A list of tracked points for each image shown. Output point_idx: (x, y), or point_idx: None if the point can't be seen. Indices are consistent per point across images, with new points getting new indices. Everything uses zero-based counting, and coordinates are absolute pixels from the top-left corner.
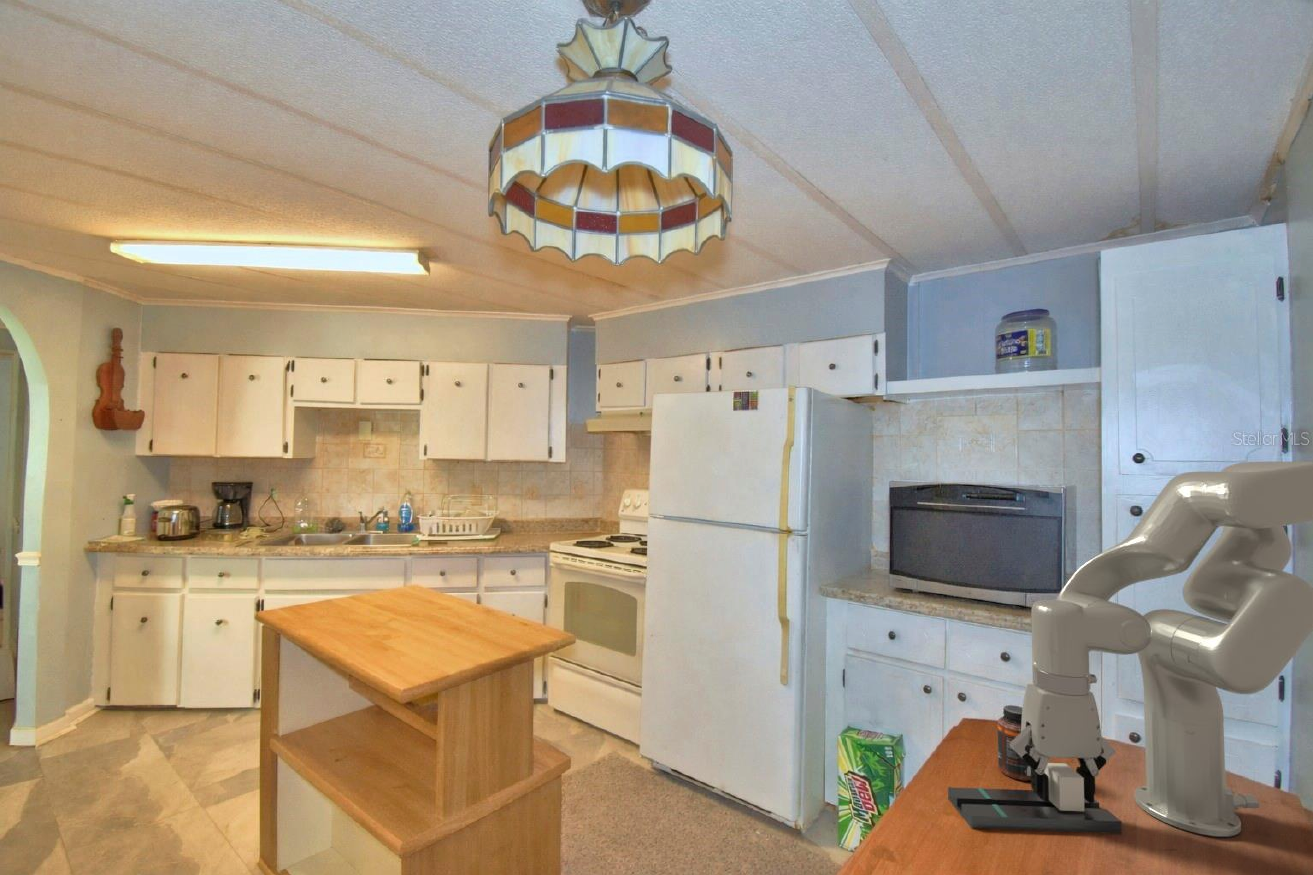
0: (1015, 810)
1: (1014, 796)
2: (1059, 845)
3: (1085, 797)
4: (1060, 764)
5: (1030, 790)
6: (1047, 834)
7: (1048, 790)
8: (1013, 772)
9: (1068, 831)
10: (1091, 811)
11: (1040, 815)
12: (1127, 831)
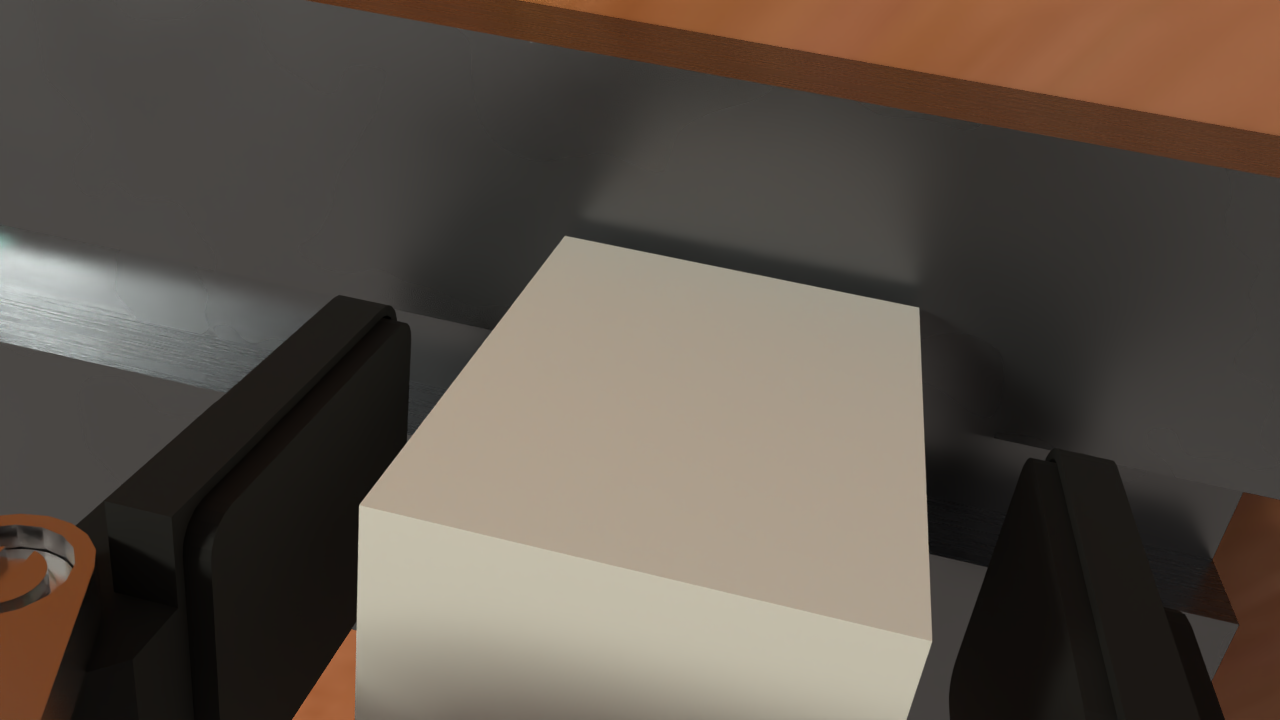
0: (43, 433)
1: (167, 165)
2: (341, 702)
3: (970, 642)
4: (762, 640)
5: (493, 41)
6: None
7: (341, 639)
8: None
9: None
10: (964, 617)
11: None
12: (1231, 706)
